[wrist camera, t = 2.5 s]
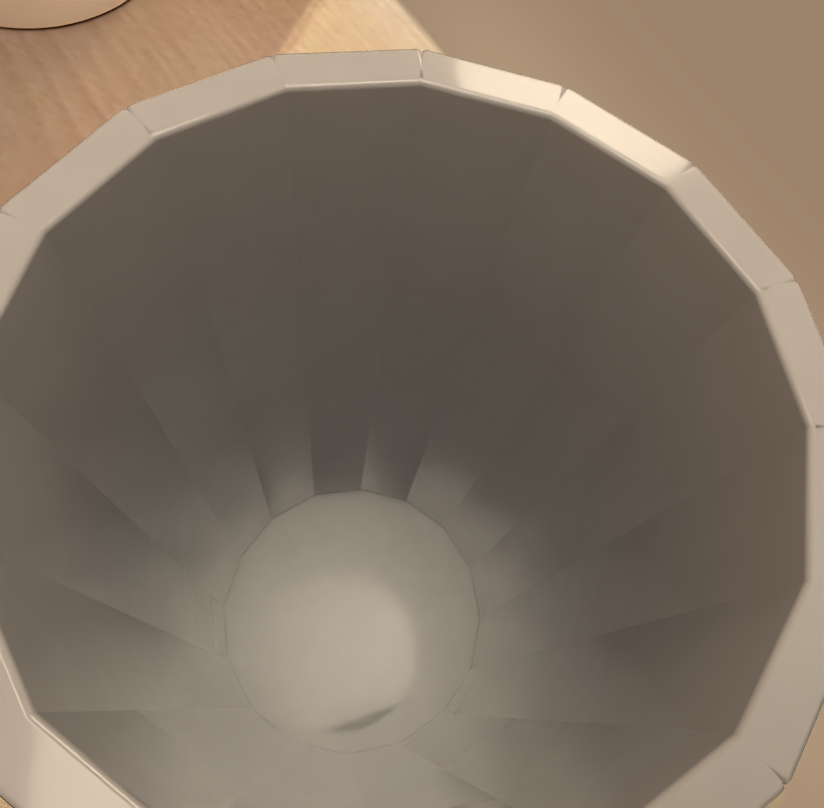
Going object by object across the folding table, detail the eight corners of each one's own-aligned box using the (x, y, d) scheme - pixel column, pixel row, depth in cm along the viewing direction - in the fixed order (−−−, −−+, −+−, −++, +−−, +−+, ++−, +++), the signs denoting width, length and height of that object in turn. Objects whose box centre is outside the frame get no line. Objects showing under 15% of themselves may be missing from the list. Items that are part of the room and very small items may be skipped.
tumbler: (542, 663, 17) (1052, 560, 5) (297, 835, 15) (177, 1324, 3) (397, 437, 19) (520, -37, 7) (162, 567, 17) (-241, 234, 5)
